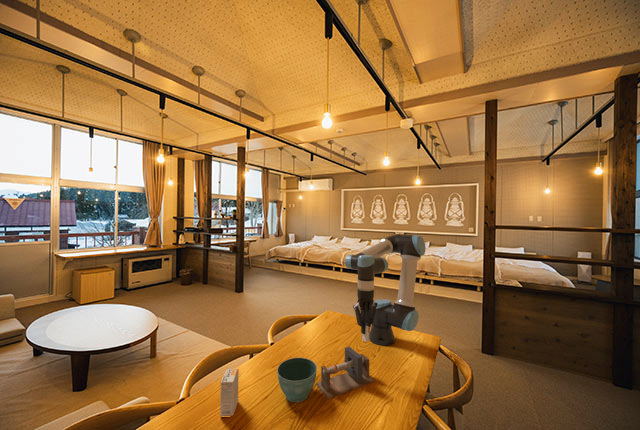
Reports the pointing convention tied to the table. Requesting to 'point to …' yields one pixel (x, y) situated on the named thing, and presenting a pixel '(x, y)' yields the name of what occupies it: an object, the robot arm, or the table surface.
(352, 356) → the ring
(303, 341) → the table surface
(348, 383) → the pipe stand
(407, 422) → the table surface
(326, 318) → the table surface
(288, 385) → the flower pot
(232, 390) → the supplement box
